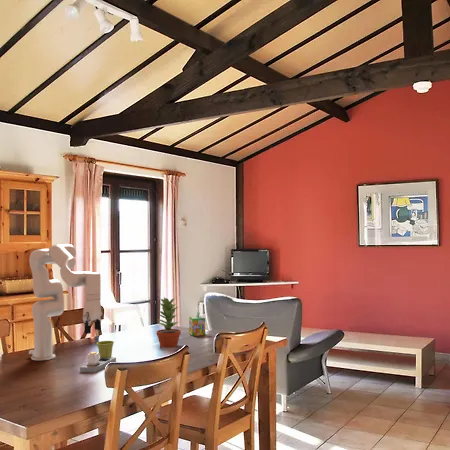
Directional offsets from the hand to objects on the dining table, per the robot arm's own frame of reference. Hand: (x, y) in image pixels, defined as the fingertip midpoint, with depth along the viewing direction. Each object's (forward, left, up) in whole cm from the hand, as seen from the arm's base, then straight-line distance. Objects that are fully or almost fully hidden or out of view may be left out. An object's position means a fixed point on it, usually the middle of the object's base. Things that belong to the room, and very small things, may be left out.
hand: (92, 331), depth 260 cm
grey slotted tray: (0, +5, -19) cm, 20 cm away
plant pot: (-6, +23, -19) cm, 30 cm away
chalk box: (+22, +96, -19) cm, 100 cm away
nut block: (0, 0, -19) cm, 19 cm away
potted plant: (+16, +60, -19) cm, 65 cm away
